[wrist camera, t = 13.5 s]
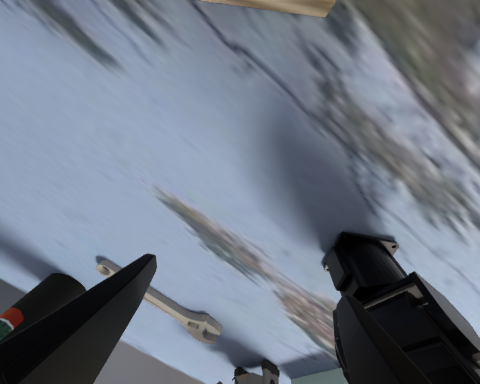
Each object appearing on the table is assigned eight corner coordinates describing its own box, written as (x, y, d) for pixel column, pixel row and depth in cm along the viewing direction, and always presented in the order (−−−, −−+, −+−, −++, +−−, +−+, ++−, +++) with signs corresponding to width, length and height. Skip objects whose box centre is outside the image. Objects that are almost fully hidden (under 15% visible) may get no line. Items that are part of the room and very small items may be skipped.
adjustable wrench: (100, 262, 32) (91, 270, 30) (117, 244, 29) (109, 252, 28) (207, 336, 38) (205, 346, 36) (230, 327, 35) (228, 338, 34)
